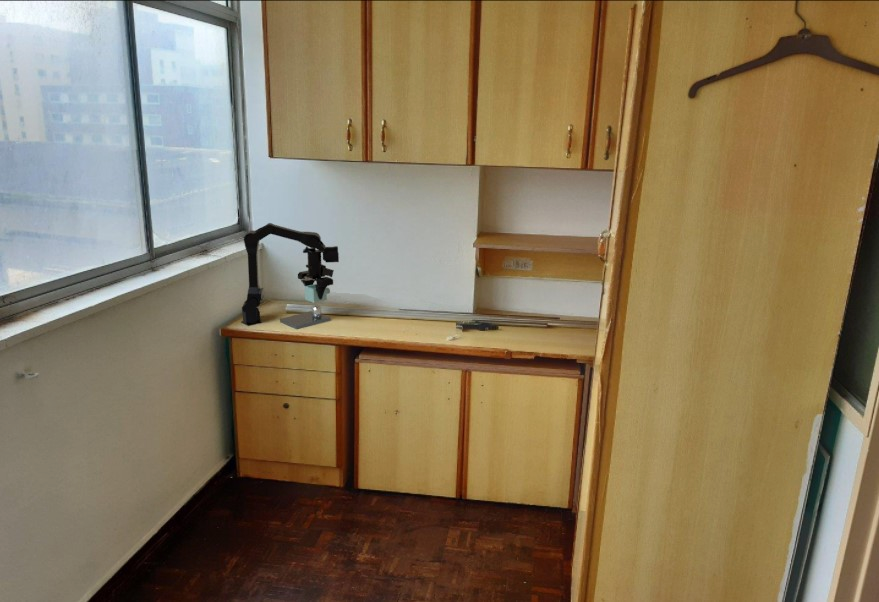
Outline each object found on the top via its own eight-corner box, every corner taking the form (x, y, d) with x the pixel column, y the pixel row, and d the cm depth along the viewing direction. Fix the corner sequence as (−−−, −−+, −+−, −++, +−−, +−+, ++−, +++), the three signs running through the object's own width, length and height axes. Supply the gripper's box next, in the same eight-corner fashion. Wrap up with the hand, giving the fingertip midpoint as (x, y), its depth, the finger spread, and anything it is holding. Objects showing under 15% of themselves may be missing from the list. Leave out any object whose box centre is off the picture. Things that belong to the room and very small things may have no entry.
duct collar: (305, 299, 278) (304, 286, 277) (324, 295, 285) (323, 282, 283) (314, 302, 274) (313, 289, 272) (332, 298, 281) (332, 285, 279)
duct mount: (296, 329, 270) (295, 314, 268) (279, 321, 278) (279, 307, 277) (329, 320, 281) (329, 306, 279) (313, 313, 290) (312, 300, 288)
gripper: (343, 263, 273) (344, 298, 277) (317, 256, 285) (319, 289, 290) (321, 267, 265) (322, 303, 270) (296, 259, 278) (297, 294, 282)
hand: (315, 297), depth 278 cm, fingers closed on duct collar, 7 cm apart
